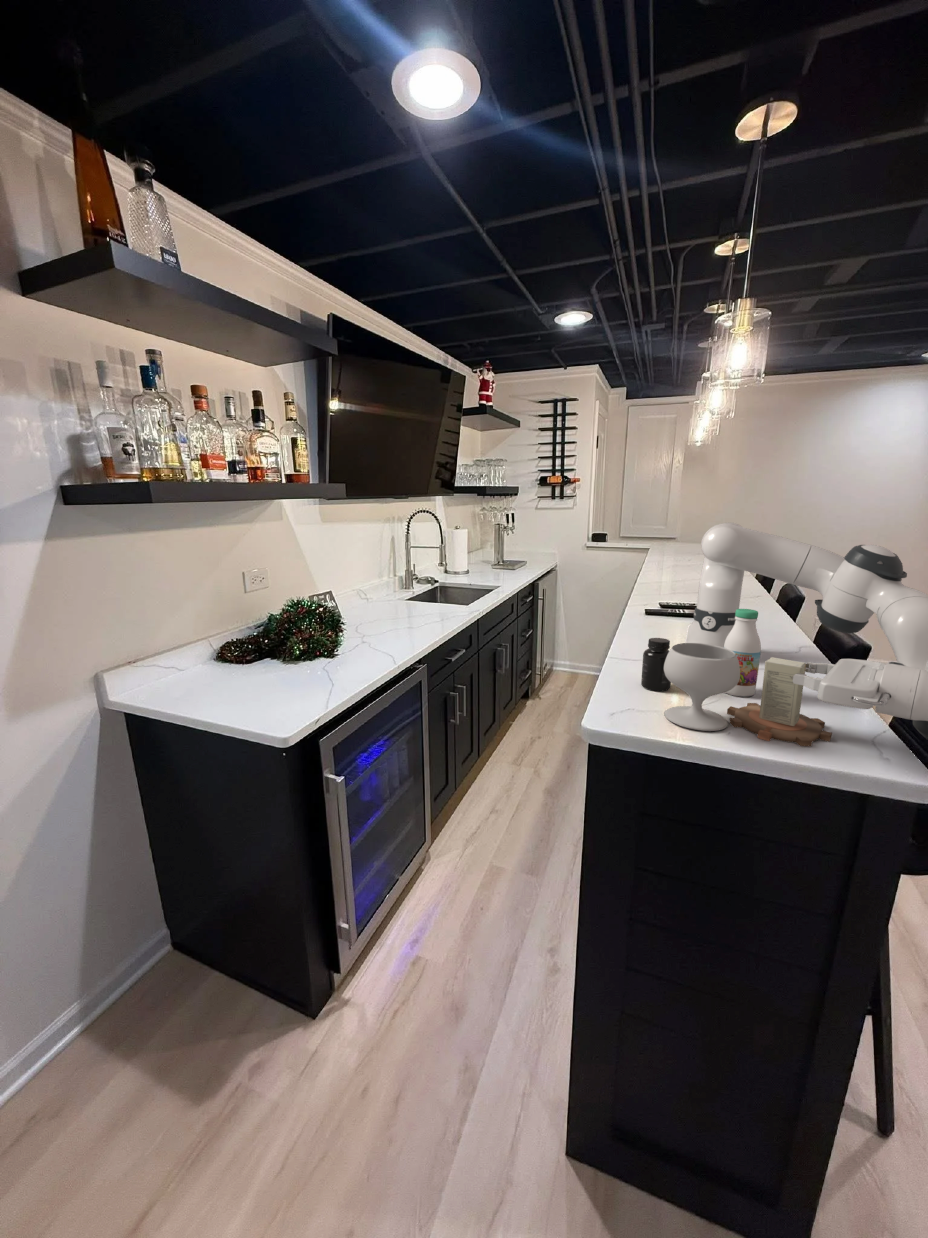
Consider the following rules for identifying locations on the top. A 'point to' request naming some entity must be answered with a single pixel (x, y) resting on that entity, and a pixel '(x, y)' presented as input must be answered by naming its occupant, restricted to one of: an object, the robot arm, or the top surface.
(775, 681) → the skincare box
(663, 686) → the supplement bottle
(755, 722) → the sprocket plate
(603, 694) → the top surface
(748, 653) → the milk bottle
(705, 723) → the chalice
